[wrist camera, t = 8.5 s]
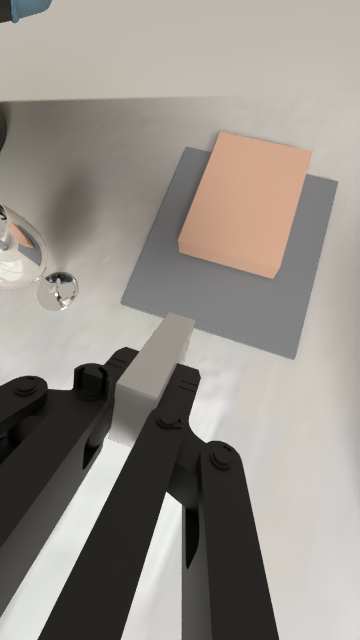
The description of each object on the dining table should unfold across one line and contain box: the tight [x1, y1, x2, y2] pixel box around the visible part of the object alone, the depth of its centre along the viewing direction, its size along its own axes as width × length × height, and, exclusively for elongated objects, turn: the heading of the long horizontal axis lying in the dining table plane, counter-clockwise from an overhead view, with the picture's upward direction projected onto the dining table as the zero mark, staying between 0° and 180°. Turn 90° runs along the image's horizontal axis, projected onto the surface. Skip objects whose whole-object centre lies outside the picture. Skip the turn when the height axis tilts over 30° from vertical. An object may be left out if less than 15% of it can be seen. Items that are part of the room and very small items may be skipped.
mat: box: [121, 147, 338, 360], centre depth 31 cm, size 21×18×1 cm
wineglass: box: [0, 202, 78, 311], centre depth 25 cm, size 6×6×12 cm
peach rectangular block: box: [178, 132, 312, 279], centre depth 30 cm, size 3×10×14 cm
